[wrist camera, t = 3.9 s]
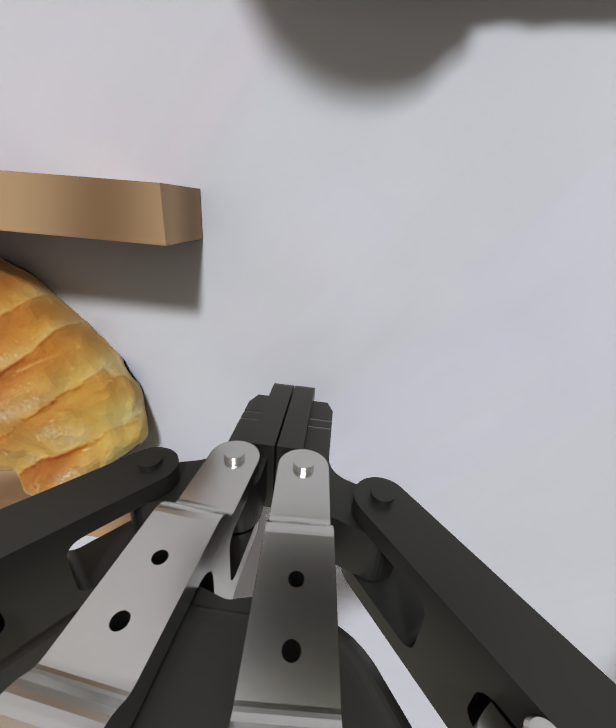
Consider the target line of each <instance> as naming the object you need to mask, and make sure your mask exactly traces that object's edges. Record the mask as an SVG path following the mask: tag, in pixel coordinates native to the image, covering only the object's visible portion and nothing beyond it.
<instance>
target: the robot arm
mask: <svg viewBox="0 0 616 728" xmlns="http://www.w3.org/2000/svg"><path fill="white" fill-rule="evenodd" d="M314 396H315V388H310V387H302V386H295V388H294V386H293V385H285V384H276V383H275V384H274V386H273V388H272V390H271V393H270V395H269V396H265V395H258V396H256V397H255V398H253V399H252V400H251V401H249V403H248V405H247V407H246V409H245V412H244V413H243V415H242V416H241V419H240V420H239V422H238V424H237V426H236V428H235V430H234V432H233V434H232V436H231V437H230V439H229V441H228V442H225V443H223V444H220V445H219V446H217V447H216V448H214V449H213V450H212V452H211V453H210V454H209V456H208V457H207V459H203V460H197V461H187V462H179V459H178V455H177V454H176V453H175V452H174V451H173V450H171V449H168V448H163V447H154V448H148V449H144V450H142V451H139V452H137V453H134V454H132V455H129V456H127V457H125V458H122V459H120V460H117V461H115V462H113V463H110V464H108V465H105V466H103V467H101V468H98V469H96V470H93V471H91V472H88V473H86V474H84V475H81V476H79V477H76V478H74V479H72V480H69V481H67V482H64V483H62V484H60V485H57V486H55V487H52V488H50V489H48V490H45V491H43V492H40V493H38V494H36V495H33V496H31V497H28V498H26V499H24V500H21V501H19V502H16V503H14V504H12V505H9V506H7V507H4V508H2V509H0V728H412V727H411V725H410V723H409V722H408V720H407V718H406V716H405V715H404V713H403V711H402V710H401V708H400V706H399V705H398V703H397V701H396V699H395V698H394V696H393V694H392V693H391V691H390V689H389V688H388V686H387V684H386V682H385V681H384V679H383V677H382V676H381V674H380V672H379V671H378V669H377V667H376V666H375V664H374V663H373V661H372V660H371V658H370V657H369V656H368V654H367V653H366V652H365V650H364V649H363V648H362V647H361V646H360V645H359V644H358V643H357V642H356V640H355V639H354V638H353V637H351V636H350V635H349V634H348V633H347V632H345V631H344V630H343V629H342V628H340V627H339V626H338V619H337V594H336V568H335V564H336V565H338V566H339V567H341V568H342V573H343V575H344V578H345V579H346V581H347V582H348V584H349V585H350V587H351V588H352V590H353V591H354V593H355V594H356V596H357V597H358V598H359V600H360V601H361V603H362V604H363V606H364V607H365V609H366V610H367V611H368V613H369V614H370V616H371V617H372V619H373V620H374V622H375V623H376V624H377V626H378V627H379V629H380V630H381V632H382V633H383V635H384V636H385V638H386V639H387V640H388V642H389V643H390V645H391V646H392V648H393V649H394V651H395V652H396V653H397V655H398V656H399V658H400V659H401V661H402V662H403V664H404V665H405V667H406V668H407V669H408V671H409V672H410V674H411V675H412V677H413V678H414V680H415V681H416V682H417V684H418V685H419V687H420V688H421V690H422V691H423V693H424V694H425V695H426V697H427V698H428V700H429V701H430V703H431V704H432V706H433V707H434V709H435V710H436V711H437V713H438V714H439V716H440V717H441V719H442V720H443V722H444V723H445V724H446V726H447V727H448V728H616V684H615V683H614V682H613V681H612V680H610V679H609V678H608V677H607V676H606V675H605V674H604V673H603V672H602V671H601V670H600V669H598V668H597V667H596V666H595V665H594V664H593V663H592V662H591V661H590V660H589V659H588V658H586V657H585V656H584V655H583V654H582V653H581V652H580V651H579V650H578V649H577V648H576V647H574V646H573V645H572V644H571V643H570V642H569V641H568V640H567V639H566V638H565V637H564V636H562V635H561V634H560V633H559V632H558V631H557V630H556V629H555V628H554V627H553V626H552V625H550V624H549V623H548V622H547V621H546V620H545V619H544V618H543V617H542V616H541V615H540V614H538V613H537V612H536V611H535V610H534V609H533V608H532V607H531V606H530V605H529V604H528V603H526V602H525V601H524V600H523V599H522V598H521V597H520V596H519V595H518V594H517V593H516V592H515V591H513V590H512V589H511V588H510V587H509V586H508V585H507V584H506V583H505V582H504V581H503V580H501V579H500V578H499V577H498V576H497V575H496V574H495V573H494V572H493V571H492V570H491V569H489V568H488V567H487V566H486V565H485V564H484V563H483V562H482V561H481V560H480V559H479V558H477V557H476V556H475V555H474V554H473V553H472V552H471V551H470V550H469V549H468V548H467V547H465V546H464V545H463V544H462V543H461V542H460V541H459V540H458V539H457V538H456V537H455V536H453V535H452V534H451V533H450V532H449V531H448V530H447V529H446V528H445V527H444V526H443V525H441V524H440V523H439V522H438V521H437V520H436V519H435V518H434V517H433V516H432V515H431V514H429V513H428V512H427V511H426V510H425V509H424V508H423V507H422V506H421V505H420V504H419V503H417V502H416V501H415V500H414V499H413V498H412V497H411V496H410V495H409V494H408V493H407V492H405V491H404V490H403V489H402V488H401V487H400V486H399V485H397V484H396V483H394V482H392V481H390V480H387V479H384V478H379V477H371V478H366V479H363V480H362V481H360V482H359V483H358V484H354V483H352V482H349V481H347V480H345V479H343V478H341V477H340V476H339V475H337V474H336V473H335V472H334V471H333V469H332V468H331V466H330V463H329V450H330V438H331V425H332V413H333V411H332V410H331V408H330V406H329V405H328V403H324V402H316V401H314ZM263 506H267V507H271V511H270V517H269V520H267V521H266V525H265V530H264V536H263V542H262V547H261V553H260V558H259V564H258V570H257V575H256V581H255V587H254V592H253V597H248V598H239V599H233V597H234V593H235V589H236V586H237V584H238V581H239V578H240V576H241V573H242V570H243V568H244V565H245V563H246V560H247V557H248V555H249V552H250V549H251V547H252V544H253V541H254V539H255V536H256V533H257V531H258V526H259V519H260V516H261V512H262V509H263ZM128 513H130V516H131V520H130V521H128V522H127V523H125V524H123V525H121V526H119V527H117V528H116V529H114V530H112V531H110V532H108V533H106V534H104V535H103V536H101V537H99V538H97V539H95V540H93V541H91V542H90V543H88V544H86V545H84V546H82V547H80V548H78V549H75V550H70V551H69V549H70V547H71V546H72V545H73V544H74V543H75V542H76V541H77V540H79V539H80V538H82V537H84V536H86V535H88V534H89V533H91V532H93V531H95V530H97V529H99V528H101V527H103V526H105V525H107V524H109V523H110V522H112V521H114V520H116V519H118V518H120V517H122V516H124V515H126V514H128Z"/></svg>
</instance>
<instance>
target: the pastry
mask: <svg viewBox="0 0 616 728" xmlns="http://www.w3.org/2000/svg"><path fill="white" fill-rule="evenodd" d="M147 436H148V423H147V415H146V410H145V405H144V397H143V392H142V389H141V386H140V383H138V382H136V381H135V380H134V379H133V377H132V376H131V375H130V374H129V372H128V371H127V369H126V367H125V365H124V360H123V359H122V357H121V356H120V355H119V354H118V353H117V352H116V351H115V350H114V349H113V348H112V347H111V346H110V345H109V344H108V342H107V341H106V340H105V339H104V338H103V337H101V336H100V335H98V334H97V333H96V332H95V331H94V329H93V328H92V327H91V326H90V325H89V323H88V322H86V321H85V320H84V319H83V318H81V317H80V316H79V315H78V314H77V313H76V312H75V311H74V310H72V309H71V308H70V307H69V306H68V305H67V304H66V303H65V302H64V301H63V300H62V299H61V298H60V297H58V296H57V295H56V294H55V293H54V292H53V291H52V290H50V289H49V288H48V287H47V286H46V285H44V284H43V283H42V282H41V281H40V280H38V279H37V278H36V277H35V276H33V275H32V274H30V273H28V272H26V271H24V270H22V269H20V268H18V267H16V266H14V265H12V264H10V263H9V262H7V261H5V260H4V259H2V258H0V471H13V472H15V473H17V475H18V476H19V478H20V481H21V484H22V487H23V490H24V491H25V493H27V494H29V495H31V496H33V495H36V494H38V493H40V492H43V491H45V490H48V489H50V488H52V487H55V486H57V485H60V484H62V483H64V482H67V481H69V480H72V479H74V478H76V477H79V476H81V475H84V474H86V473H88V472H91V471H93V470H96V469H98V468H101V467H103V466H105V465H108V464H110V463H112V462H114V461H115V460H117V459H118V458H120V457H122V456H123V455H125V454H126V453H128V452H129V451H130V450H131V449H133V448H134V447H135V446H137V445H138V444H141V443H142V442H144V440H145V439H146V438H147Z"/></svg>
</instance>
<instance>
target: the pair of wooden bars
mask: <svg viewBox="0 0 616 728" xmlns="http://www.w3.org/2000/svg"><path fill="white" fill-rule="evenodd" d="M0 230H2V231H13V232H23V233H34V234H45V235H56V236H66V237H77V238H88V239H99V240H110V241H120V242H131V243H142V244H153V245H163V246H167V245H173V244H178V243H183V242H188V241H194V240H199V239H203V237H202V219H201V201H200V189H197V188H190V187H183V186H176V185H170V184H163V183H153V182H140V181H128V180H115V179H102V178H90V177H77V176H65V175H52V174H39V173H27V172H14V171H1V170H0ZM28 497H31V495H29V494H27V493H25V491H24V490H23V487H22V484H21V481H20V478H19V476H18V475H17V473H15V472H13V471H0V509H2V508H4V507H7V506H9V505H12V504H14V503H16V502H19V501H21V500H24V499H26V498H28ZM130 520H131V516H130V513H128V514H126V515H124V516H122V517H120V518H118V519H116V520H114V521H112V522H110V523H109V524H107V525H105V526H103V527H101V528H99V529H97V530H95V531H93V532H91V533H89V534H88V536H95V537H101V536H103V535H104V534H106V533H108V532H110V531H112V530H114V529H116V528H117V527H119V526H121V525H123V524H125V523H127V522H128V521H130Z"/></svg>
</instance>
